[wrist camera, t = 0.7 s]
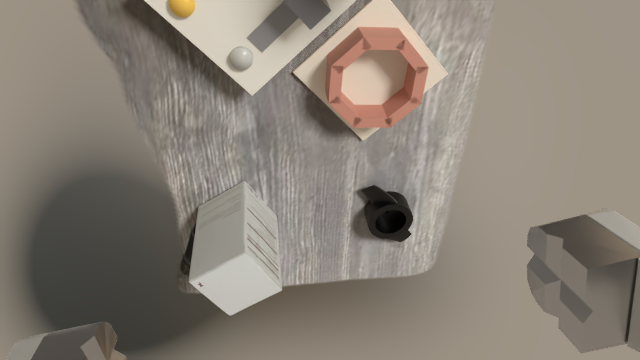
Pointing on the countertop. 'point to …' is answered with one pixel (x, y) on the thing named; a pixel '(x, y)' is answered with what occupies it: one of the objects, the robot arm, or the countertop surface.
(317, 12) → the untagged switch
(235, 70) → the breaker panel
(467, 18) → the countertop surface
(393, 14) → the ring
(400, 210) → the black finned ring
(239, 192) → the supplement box
